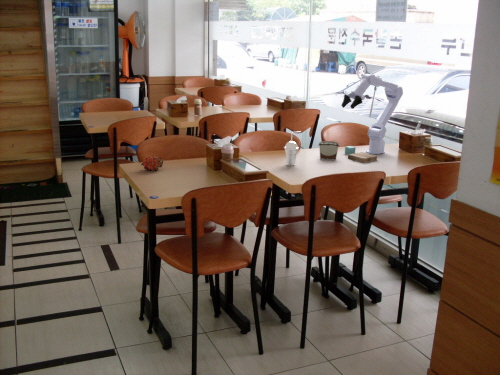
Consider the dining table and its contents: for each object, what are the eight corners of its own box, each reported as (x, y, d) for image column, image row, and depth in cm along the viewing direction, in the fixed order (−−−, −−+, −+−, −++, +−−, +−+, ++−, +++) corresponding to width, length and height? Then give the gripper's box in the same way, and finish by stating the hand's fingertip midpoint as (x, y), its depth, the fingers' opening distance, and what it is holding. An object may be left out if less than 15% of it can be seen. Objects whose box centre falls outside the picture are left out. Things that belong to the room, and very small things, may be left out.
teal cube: (349, 152, 339) (350, 145, 338) (355, 154, 336) (355, 147, 335) (344, 153, 337) (345, 146, 335) (349, 155, 333) (350, 148, 332)
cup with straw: (289, 162, 312) (291, 128, 306) (301, 165, 306) (303, 130, 300) (280, 164, 306) (281, 130, 300) (292, 168, 300) (293, 132, 294)
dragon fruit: (165, 172, 291) (143, 177, 288) (162, 160, 295) (140, 165, 292) (164, 162, 284) (142, 167, 281) (161, 150, 289) (138, 155, 286)
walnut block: (361, 156, 331) (362, 152, 331) (376, 161, 322) (377, 156, 321) (347, 159, 325) (348, 154, 324) (363, 163, 315) (363, 158, 315)
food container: (337, 157, 326) (339, 141, 324) (338, 159, 321) (339, 143, 318) (317, 156, 328) (318, 140, 325) (317, 159, 322) (318, 142, 319)
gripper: (348, 84, 323) (335, 101, 320) (365, 86, 311) (352, 103, 308) (353, 93, 327) (341, 109, 324) (371, 94, 315) (358, 111, 312)
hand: (346, 107), depth 316 cm, fingers open, 7 cm apart
